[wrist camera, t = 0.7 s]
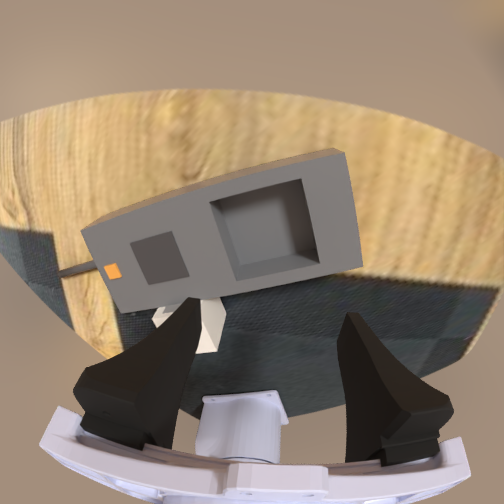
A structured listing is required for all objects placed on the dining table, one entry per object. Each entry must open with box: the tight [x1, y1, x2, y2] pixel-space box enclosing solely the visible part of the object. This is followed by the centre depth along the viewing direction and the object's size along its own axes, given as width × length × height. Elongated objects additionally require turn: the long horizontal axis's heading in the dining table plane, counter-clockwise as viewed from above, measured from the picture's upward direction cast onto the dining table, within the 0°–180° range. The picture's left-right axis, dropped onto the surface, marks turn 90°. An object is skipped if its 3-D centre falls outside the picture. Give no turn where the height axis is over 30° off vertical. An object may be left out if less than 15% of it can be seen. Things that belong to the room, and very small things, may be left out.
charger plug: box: [152, 297, 226, 353], centre depth 23 cm, size 4×4×5 cm
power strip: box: [59, 148, 363, 313], centre depth 22 cm, size 29×8×4 cm, turn 106°
